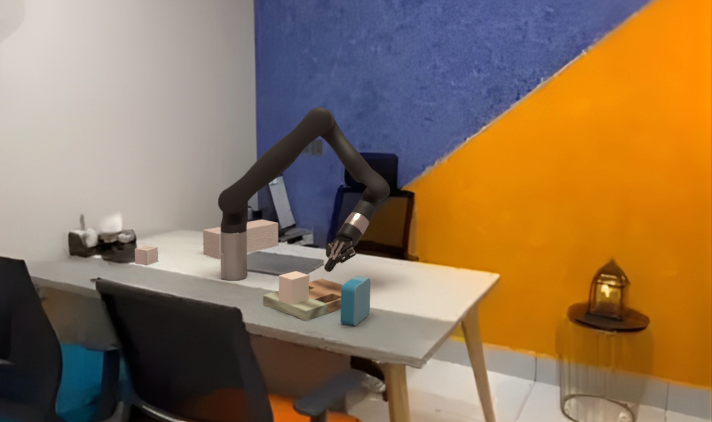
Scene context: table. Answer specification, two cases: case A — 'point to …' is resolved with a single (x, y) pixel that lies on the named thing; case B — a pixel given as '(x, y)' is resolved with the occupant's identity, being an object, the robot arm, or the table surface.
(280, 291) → the block
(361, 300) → the data package
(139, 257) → the pale pink cube
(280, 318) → the table surface
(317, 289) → the board
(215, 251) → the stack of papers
